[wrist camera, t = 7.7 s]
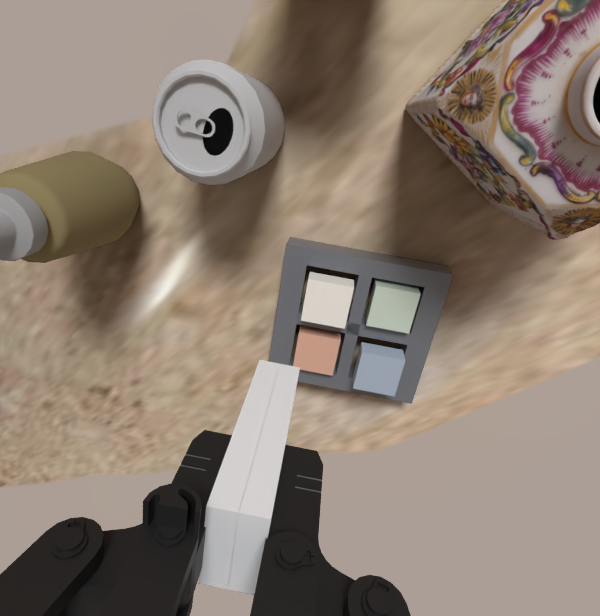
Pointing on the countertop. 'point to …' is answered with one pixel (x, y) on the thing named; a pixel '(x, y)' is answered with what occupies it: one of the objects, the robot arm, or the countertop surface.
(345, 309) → the cream key
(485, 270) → the countertop surface
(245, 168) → the can
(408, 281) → the keypad
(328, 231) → the countertop surface
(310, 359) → the terracotta key
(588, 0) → the decorative jar
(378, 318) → the sage key
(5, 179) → the squeeze bottle
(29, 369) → the countertop surface
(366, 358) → the slate key
